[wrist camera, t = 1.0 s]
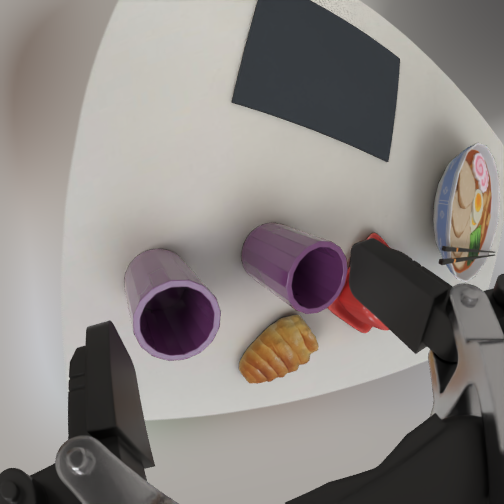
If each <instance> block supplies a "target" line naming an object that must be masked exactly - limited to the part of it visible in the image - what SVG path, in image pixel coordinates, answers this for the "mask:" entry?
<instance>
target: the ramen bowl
mask: <svg viewBox="0 0 504 504" xmlns="http://www.w3.org/2000/svg"><path fill="white" fill-rule="evenodd" d="M499 208H500V184H499V174H498V170H497V166H496V163H495V159H494V157H493V155H492V153H491V152H490V150H489V148H488V147H487V145H484V144H480V143H476V144H474V145H472V146H470V147H468V148H467V149H465V150H464V151H463V152H461V153H460V154H459V155H458V156H457V157H455V158H454V159H453V160H452V161H451V162H450V163H449V164H448V165H447V167H446V170H445V172H444V174H443V176H442V178H441V180H440V182H439V184H438V189H437V193H436V197H435V201H434V216H433V223H434V232H435V240H436V244H437V246H438V249H439V251H440V253H441V255H442V257H443V259H439V264H441V265H445V264H446V265H447V267H448V268H449V270H450V272H451V273H452V274H453V275H454V276H455V277H456V279H459V280H461V281H463V282H465V283H466V282H467V281H469V280H470V279H472V278H474V277H475V276H476V275H477V273H478V272H479V271H480V269H481V268H482V266H483V265H484V263H485V262H486V259H487V257H489V256H494V255H488V254H489V252H491V253H495V252H493V251H490V249H491V247H492V244H493V241H494V237H495V233H496V229H497V225H498V219H499Z"/></svg>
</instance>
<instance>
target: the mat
mask: <svg viewBox="0 0 504 504" xmlns="http://www.w3.org/2000/svg"><path fill="white" fill-rule="evenodd" d="M399 67H400V58H398V57H397V56H396V55H394V54H393V53H392V52H390V51H389V50H388V49H386V48H385V47H384V46H382V45H381V44H380V43H378V42H377V41H375V40H374V39H372V38H371V37H370V36H368V35H367V34H365V33H364V32H362V31H361V30H359V29H358V28H356V27H355V26H353V25H351V24H350V23H348V22H347V21H345V20H343V19H342V18H340V17H338V16H337V15H335V14H333V13H332V12H330V11H328V10H326V9H325V8H323V7H321V6H319V5H317V4H316V3H314V2H312V1H310V0H258V2H257V5H256V9H255V12H254V16H253V20H252V23H251V27H250V31H249V34H248V38H247V42H246V46H245V49H244V53H243V57H242V61H241V65H240V69H239V73H238V77H237V81H236V85H235V90H234V94H233V98H232V103H235V104H238V105H241V106H245V107H248V108H251V109H254V110H258V111H261V112H264V113H267V114H270V115H273V116H276V117H279V118H281V119H284V120H287V121H290V122H293V123H296V124H298V125H301V126H304V127H306V128H309V129H312V130H314V131H317V132H319V133H322V134H324V135H327V136H329V137H332V138H334V139H337V140H339V141H341V142H344V143H346V144H348V145H351V146H353V147H355V148H358V149H360V150H362V151H364V152H367V153H369V154H371V155H373V156H375V157H377V158H380V159H382V160H384V161H386V162H388V160H389V154H390V147H391V141H392V134H393V126H394V118H395V110H396V101H397V91H398V80H399Z"/></svg>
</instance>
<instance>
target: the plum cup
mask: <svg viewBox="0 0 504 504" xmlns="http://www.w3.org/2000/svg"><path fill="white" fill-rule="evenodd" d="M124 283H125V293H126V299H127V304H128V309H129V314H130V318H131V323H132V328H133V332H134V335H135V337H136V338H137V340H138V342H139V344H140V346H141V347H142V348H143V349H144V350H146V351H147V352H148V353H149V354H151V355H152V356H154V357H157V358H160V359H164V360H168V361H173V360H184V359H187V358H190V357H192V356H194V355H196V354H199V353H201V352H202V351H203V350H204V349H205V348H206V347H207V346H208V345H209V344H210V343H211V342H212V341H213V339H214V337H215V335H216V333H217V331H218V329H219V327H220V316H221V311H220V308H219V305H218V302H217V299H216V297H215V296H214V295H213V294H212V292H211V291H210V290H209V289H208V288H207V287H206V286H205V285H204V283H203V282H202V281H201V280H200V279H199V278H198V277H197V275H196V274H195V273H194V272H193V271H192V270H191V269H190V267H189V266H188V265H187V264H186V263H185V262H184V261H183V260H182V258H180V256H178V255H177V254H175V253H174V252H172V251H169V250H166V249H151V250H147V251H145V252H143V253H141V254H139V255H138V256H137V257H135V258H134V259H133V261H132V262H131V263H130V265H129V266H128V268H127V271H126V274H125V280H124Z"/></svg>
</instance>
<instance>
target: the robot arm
mask: <svg viewBox="0 0 504 504" xmlns="http://www.w3.org/2000/svg"><path fill="white" fill-rule="evenodd" d="M349 287H350V290H351V292H352V294H353V296H354V297H355V298H356V299H357V300H358V301H359V302H360V303H361V304H362V305H364V306H365V307H366V308H367V309H368V310H369V311H370V312H371V313H372V314H373V315H374V316H376V317H377V318H378V319H379V320H380V321H381V322H382V323H383V324H384V325H385V326H386V327H387V328H389V329H390V330H391V331H392V332H393V333H394V334H395V335H396V336H397V337H398V338H399V339H400V340H401V341H402V342H404V343H405V344H406V345H407V346H408V347H409V348H410V349H411V350H412V351H413V352H414V353H415V354H416V353H418V352H419V351H421V350H422V349H424V348H425V347H428V348H430V351H429V353H428V360H429V366H430V373H431V381H432V390H433V398H434V402H433V408H432V412H431V416H430V417H429V418H428V419H427V420H426V421H424V422H423V423H422V424H420V425H419V426H418V427H416V428H415V429H414V430H413V431H411V432H410V433H408V434H407V435H406V436H405V437H404V438H403V439H402V441H401V442H400V443H399V444H398V445H397V446H396V447H395V449H394V450H393V451H392V452H391V453H390V454H389V455H388V456H387V457H386V459H385V460H384V461H383V462H382V463H381V464H380V465H379V466H377V467H376V468H374V469H372V470H368V471H365V472H362V473H359V474H356V475H353V476H349V477H346V478H343V479H339V480H335V481H332V482H328V483H326V484H324V485H322V486H320V487H319V488H316V489H314V490H312V491H310V492H308V493H306V494H303V495H301V496H299V497H297V498H295V499H292V500H290V501H288V502H286V503H285V504H504V274H501V275H500V276H498V278H497V281H496V284H495V286H494V289H490V290H486V291H482V290H481V289H480V288H478V287H476V286H474V285H471V284H457V285H455V286H453V287H452V286H451V285H449V284H448V283H447V282H445V281H444V280H442V279H441V278H439V277H438V276H436V275H435V274H434V273H432V272H431V271H429V270H428V269H426V268H425V267H423V266H422V267H421V265H420V264H419V263H417V262H416V261H412V259H411V258H410V257H408V256H407V255H405V254H404V253H402V252H400V251H397V250H394V249H391V248H389V247H387V246H386V245H384V244H383V243H381V242H380V241H378V240H376V239H374V238H371V239H368V240H365V241H362V242H359V243H356V244H354V245H353V246H352V249H351V259H350V273H349ZM69 377H70V380H69V391H70V392H68V432H69V433H68V434H69V437H68V440H67V441H66V442H65V443H64V444H63V445H62V446H61V447H60V449H59V451H58V453H57V456H56V461H55V463H54V464H53V465H51V466H49V467H47V468H45V469H43V470H41V471H39V472H37V473H35V474H33V475H30V476H29V475H27V474H26V473H24V472H23V471H22V470H19V469H16V468H9V469H6V470H4V471H3V472H2V473H1V474H0V504H178V503H177V502H175V501H174V500H172V499H171V498H169V497H168V496H166V495H165V494H163V493H162V492H160V491H159V490H158V489H156V488H155V487H154V486H152V485H151V484H149V483H148V482H147V479H146V475H145V471H144V468H149V467H154V466H155V464H154V460H153V456H152V452H151V448H150V444H149V439H148V435H147V431H146V426H145V421H144V416H143V411H142V406H141V401H140V395H139V390H138V384H137V378H136V372H135V369H134V365H133V363H132V360H131V358H130V356H129V354H128V352H127V350H126V348H125V346H124V344H123V342H122V340H121V338H120V336H119V334H118V332H117V330H116V328H115V326H114V324H113V323H112V322H111V321H107V322H103V323H100V324H96V325H93V326H89V327H87V330H86V346H83V347H79V348H77V349H76V351H75V353H74V355H73V357H72V359H71V361H70V370H69Z"/></svg>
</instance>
